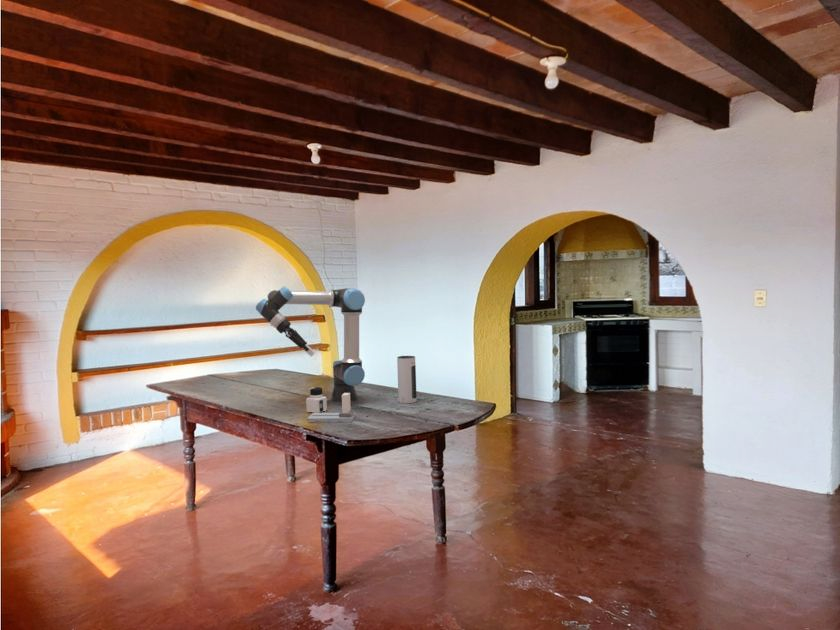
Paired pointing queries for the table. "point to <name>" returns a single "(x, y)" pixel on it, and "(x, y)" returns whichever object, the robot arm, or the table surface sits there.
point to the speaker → (406, 379)
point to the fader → (346, 406)
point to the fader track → (329, 417)
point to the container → (316, 401)
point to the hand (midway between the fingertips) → (313, 354)
